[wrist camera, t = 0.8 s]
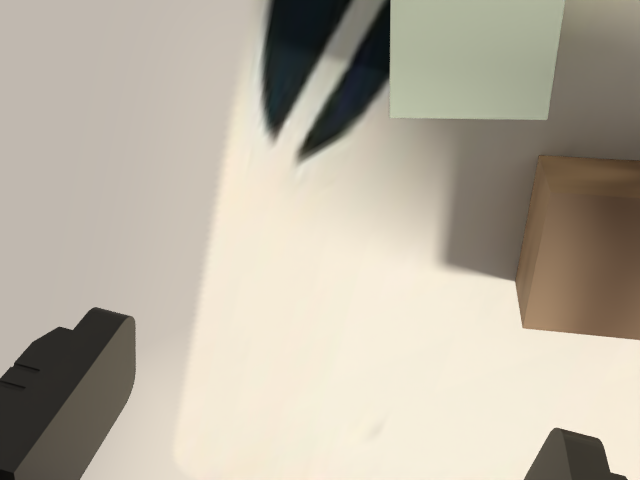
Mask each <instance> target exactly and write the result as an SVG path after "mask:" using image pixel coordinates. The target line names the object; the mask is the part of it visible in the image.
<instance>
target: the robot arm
mask: <svg viewBox="0 0 640 480" xmlns="http://www.w3.org/2000/svg"><path fill="white" fill-rule="evenodd" d="M135 356H136V355H135V320H134V318H133V317H132V316H127V315H124V314H120V313H116V312H112V311H109V310H104V309H101V308H97V307H95V308H92V309H91V310H89V311H88V313H87V314H86V315H85V316H84V317H83V319H82V320H81V321H80V322H79V324H78V325H77V326H76V327H75V328H74V330H70V329H66V328H62V327H58V328H56V329H54V330H53V331H51V332H49V333H47V334H46V335H44V336H42V337H41V338H39V339H37V340H35V341H34V342H32V343H31V345H30V346H29V347H28V348H27V349H26V350H25V351H24V352H23V354H22V355H21V356H20V357H19V358H18V359H17V360H16V361H15V363H14V366H13V367H10V368H9V369H8V370H7V372H6V373H5V374H4V375H3V376H2V377H1V378H0V480H80V478H81V477H82V475H83V473H84V472H85V470H86V468H87V467H88V465H89V464H90V462H91V460H92V459H93V457H94V455H95V454H96V452H97V450H98V449H99V447H100V446H101V444H102V442H103V441H104V439H105V437H106V436H107V434H108V432H109V431H110V429H111V427H112V426H113V424H114V423H115V421H116V419H117V418H118V416H119V414H120V413H121V411H122V410H123V408H124V406H125V404H126V403H127V401H128V399H129V396H130V394H131V391H132V388H133V384H134V380H135V372H136V371H135V370H136V368H135V367H136V366H135V365H136V361H135V360H136V358H135ZM524 480H627V478H626V477H625V476H622V475H618V474H614V473H611V472H610V469H609V465H608V461H607V457H606V454H605V450H604V446H603V444H602V442H601V441H600V440H599V439H598V438H595V437H591V436H587V435H583V434H579V433H575V432H572V431H568V430H564V429H560V428H554V429H553V430H552V431H551V432H550V434H549V435H548V437H547V439H546V441H545V443H544V444H543V446H542V448H541V450H540V451H539V453H538V455H537V457H536V459H535V460H534V462H533V464H532V466H531V467H530V469H529V471H528V473H527V475H526V476H525V479H524Z"/></svg>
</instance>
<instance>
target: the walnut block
mask: <svg viewBox="0 0 640 480" xmlns="http://www.w3.org/2000/svg"><path fill="white" fill-rule="evenodd" d="M515 283H516V289H517V296H518V302H519V308H520V314H521V320H522V327H523V328H526V329H536V330H546V331H556V332H566V333H576V334H586V335H596V336H606V337H616V338H626V339H636V340H640V161H634V160H616V159H598V158H580V157H562V156H545V155H539V158H538V163H537V168H536V174H535V179H534V184H533V190H532V195H531V200H530V206H529V211H528V216H527V222H526V227H525V232H524V237H523V243H522V248H521V253H520V259H519V264H518V269H517V275H516V280H515Z"/></svg>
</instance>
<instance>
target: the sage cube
mask: <svg viewBox="0 0 640 480" xmlns="http://www.w3.org/2000/svg"><path fill="white" fill-rule="evenodd" d="M564 5H565V0H391V13H390V115H389V118H430V119H507V120H547V119H548V112H549V105H550V99H551V92H552V85H553V79H554V72H555V65H556V58H557V52H558V45H559V38H560V32H561V25H562V18H563V12H564Z"/></svg>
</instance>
